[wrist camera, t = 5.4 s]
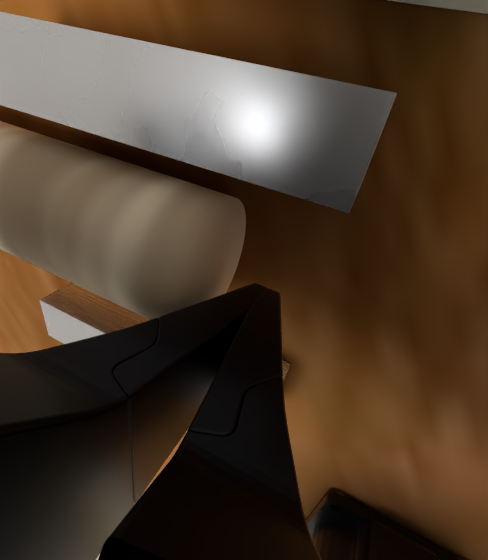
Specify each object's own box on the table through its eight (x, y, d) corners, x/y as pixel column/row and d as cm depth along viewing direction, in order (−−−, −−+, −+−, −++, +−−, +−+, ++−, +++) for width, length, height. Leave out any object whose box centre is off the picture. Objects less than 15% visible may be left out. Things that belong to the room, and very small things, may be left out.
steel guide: (278, 395, 13) (256, 448, 11) (94, 305, 15) (49, 335, 13) (396, 95, 7) (396, 92, 5) (56, 25, 9) (-39, 4, 7)
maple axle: (256, 205, 10) (203, 185, 6) (221, 315, 11) (156, 357, 7) (-2, 121, 13) (-146, 72, 9) (-13, 213, 14) (-148, 203, 10)
